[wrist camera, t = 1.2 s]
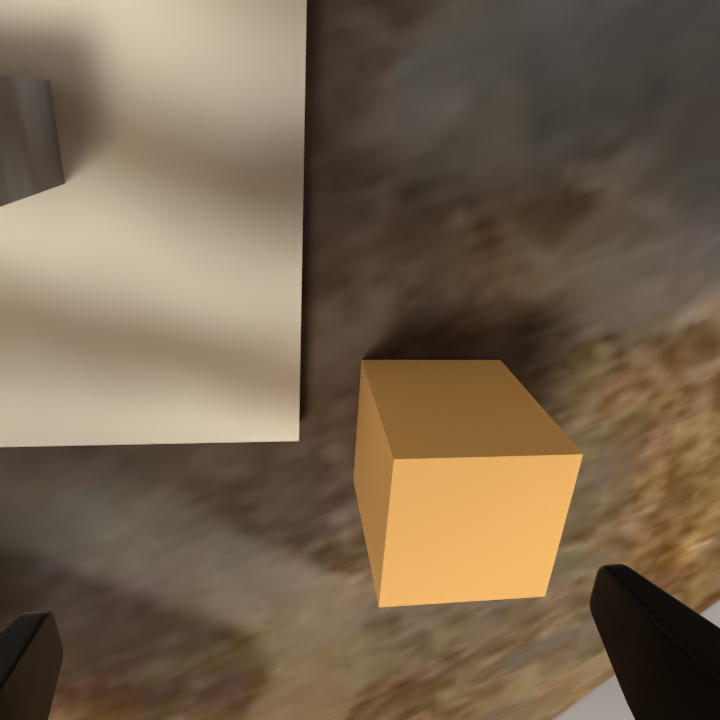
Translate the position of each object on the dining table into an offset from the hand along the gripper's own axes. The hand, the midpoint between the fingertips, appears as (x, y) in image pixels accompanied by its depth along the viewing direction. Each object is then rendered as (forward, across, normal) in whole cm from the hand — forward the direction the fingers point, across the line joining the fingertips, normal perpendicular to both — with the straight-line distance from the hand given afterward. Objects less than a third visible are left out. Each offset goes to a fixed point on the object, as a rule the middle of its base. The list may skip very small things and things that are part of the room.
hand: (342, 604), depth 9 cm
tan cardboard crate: (+12, -4, +4) cm, 13 cm away
